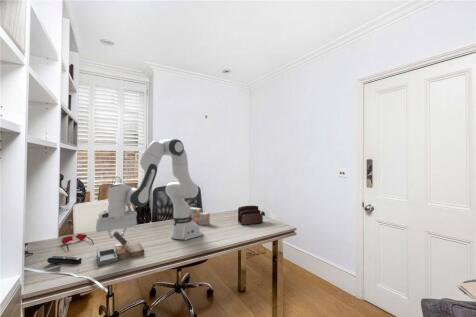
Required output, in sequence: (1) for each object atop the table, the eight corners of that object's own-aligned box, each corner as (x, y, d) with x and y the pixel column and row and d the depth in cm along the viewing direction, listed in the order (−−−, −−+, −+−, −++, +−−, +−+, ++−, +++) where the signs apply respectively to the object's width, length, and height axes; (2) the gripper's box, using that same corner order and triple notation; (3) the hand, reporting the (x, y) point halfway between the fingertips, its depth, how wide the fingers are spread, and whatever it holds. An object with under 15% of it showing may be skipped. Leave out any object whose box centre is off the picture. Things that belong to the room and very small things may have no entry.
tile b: (124, 250, 127) (124, 245, 127) (125, 252, 124) (125, 248, 124) (116, 252, 125) (116, 247, 125) (117, 254, 122) (117, 249, 122)
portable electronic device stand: (47, 263, 118) (47, 257, 119) (51, 261, 121) (51, 255, 121) (77, 265, 116) (77, 259, 116) (81, 262, 119) (81, 257, 119)
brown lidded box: (237, 222, 199) (237, 206, 199) (258, 220, 206) (258, 204, 206) (241, 225, 190) (241, 208, 190) (262, 223, 196) (262, 206, 197)
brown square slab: (139, 248, 139) (139, 243, 139) (144, 254, 129) (144, 249, 129) (116, 252, 131) (116, 247, 131) (118, 260, 121) (118, 254, 121)
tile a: (122, 247, 132) (122, 242, 132) (123, 249, 129) (123, 244, 129) (115, 248, 130) (115, 244, 130) (116, 250, 127) (116, 246, 127)
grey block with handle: (127, 241, 136) (115, 228, 132) (132, 248, 124) (118, 234, 120) (124, 244, 134) (111, 231, 131) (128, 252, 123) (114, 238, 119)
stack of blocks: (209, 223, 193) (209, 209, 193) (205, 225, 188) (205, 210, 188) (191, 220, 204) (191, 206, 204) (186, 221, 199) (186, 208, 199)
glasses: (85, 239, 155) (86, 231, 155) (94, 245, 144) (94, 237, 144) (60, 244, 144) (60, 237, 144) (67, 251, 134) (68, 243, 134)
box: (114, 252, 132) (114, 243, 132) (118, 261, 120) (118, 252, 120) (96, 255, 127) (96, 247, 127) (98, 266, 115) (98, 256, 115)
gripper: (135, 208, 135) (135, 231, 135) (95, 213, 123) (95, 238, 123) (138, 210, 130) (138, 234, 130) (96, 215, 118) (96, 242, 118)
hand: (117, 236), depth 126 cm, fingers closed on grey block with handle, 4 cm apart
